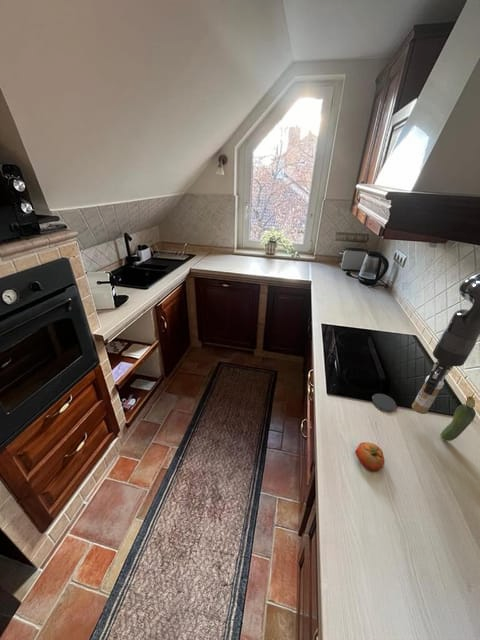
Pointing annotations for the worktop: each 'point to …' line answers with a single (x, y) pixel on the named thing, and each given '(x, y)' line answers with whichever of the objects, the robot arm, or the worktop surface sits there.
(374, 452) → the tomato
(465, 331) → the robot arm
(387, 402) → the slate coaster
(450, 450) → the worktop surface
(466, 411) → the vegetable
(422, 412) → the sprinkles bottle
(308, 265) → the worktop surface
